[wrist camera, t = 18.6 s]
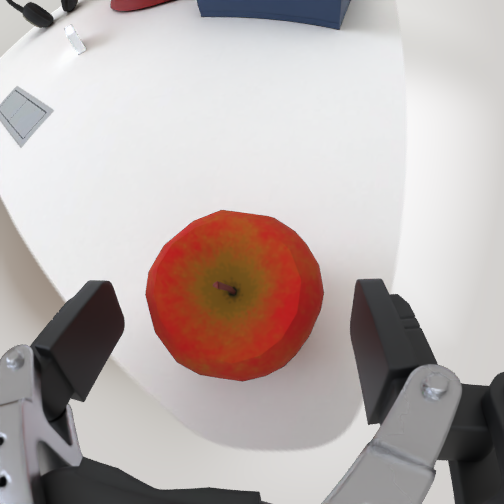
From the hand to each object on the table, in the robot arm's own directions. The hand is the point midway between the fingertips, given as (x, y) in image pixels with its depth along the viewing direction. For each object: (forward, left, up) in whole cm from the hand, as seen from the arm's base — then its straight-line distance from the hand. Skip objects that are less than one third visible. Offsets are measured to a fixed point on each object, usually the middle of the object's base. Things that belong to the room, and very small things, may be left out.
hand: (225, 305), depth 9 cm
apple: (0, -1, -7) cm, 7 cm away
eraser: (+34, -24, -7) cm, 42 cm away
